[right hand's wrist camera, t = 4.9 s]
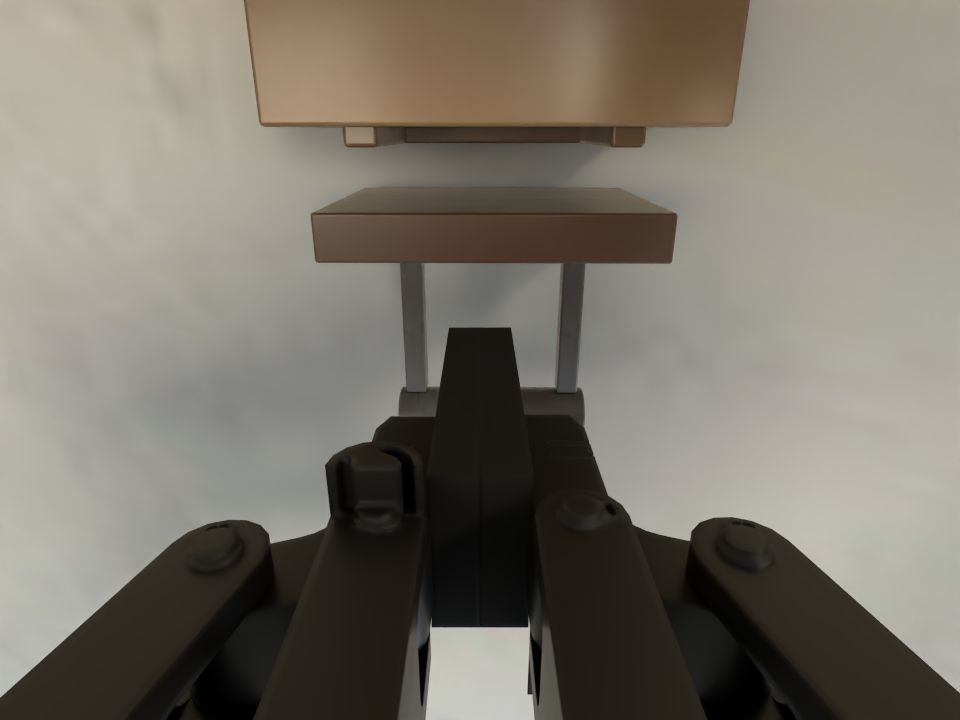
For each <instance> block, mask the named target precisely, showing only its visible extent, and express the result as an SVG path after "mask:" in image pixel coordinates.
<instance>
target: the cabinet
mask: <svg viewBox="0 0 960 720" xmlns="http://www.w3.org/2000/svg"><path fill="white" fill-rule="evenodd" d="M749 2H750V0H244V6H245V13H246V21H247V29H248V37H249V45H250V53H251V61H252V68H253V76H254V84H255V92H256V100H257V108H258V115H259V122H260V124H261V125H262V126H264V127H319V128H343V127H646V128H663V127H727V126H730V125H731V123H732V119H733V113H734V106H735V99H736V92H737V85H738V78H739V71H740V64H741V58H742V51H743V44H744V37H745V30H746V23H747V16H748V9H749Z"/></svg>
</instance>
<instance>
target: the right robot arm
mask: <svg viewBox="0 0 960 720" xmlns="http://www.w3.org/2000/svg"><path fill="white" fill-rule="evenodd" d="M325 469H326V478H327V487H328V495H329V504H330V513H331V517H330V520H329V522H328V525H327V528H325V529H323V530H320V531H318V532H316V533H314V534H310V535H307V536H303V537H300V538H296V539H291V540H286V541H281V542H277V543H272V544H270V539H269V534H268V533H267V532H266V531H265V530H264V528H263V527H262V526H261V525H258V524H255V523H252V522H250V521H247V520H226V521H220V522H215V523H211V524H207V525H205V526H202V527H200V528H197V529H195V530H192V531H190V532H188V533H187V534H185V535H184V536H182V537H181V538H179V539H178V540H176V541H175V542H173V543H172V544H171V545H170V546H169V547H168V548H166V549H165V550H164V551H163V552H162V553H161V554H160V555H159V556H158V557H156V558H155V559H154V560H153V561H152V562H151V563H150V564H149V565H148V566H146V567H145V568H144V569H143V570H142V571H141V572H140V573H139V574H138V575H136V576H135V577H134V578H133V579H132V580H131V581H130V582H129V583H128V584H126V585H125V586H124V587H123V588H122V589H121V590H120V591H119V592H118V593H116V594H115V595H114V596H113V597H112V598H111V599H110V600H109V601H107V602H106V603H105V604H104V605H103V606H102V607H101V608H100V609H99V610H97V611H96V612H95V613H94V614H93V615H92V616H91V617H90V618H89V619H87V620H86V621H85V622H84V623H83V624H82V625H81V626H80V627H79V628H77V629H76V630H75V631H74V632H73V633H72V634H71V635H70V636H69V637H67V638H66V639H65V640H64V641H63V642H62V643H61V644H60V645H59V646H57V647H56V648H55V649H54V650H53V651H52V652H51V653H50V654H49V655H47V656H46V657H45V658H44V659H43V660H42V661H41V662H40V663H39V664H37V665H36V666H35V667H34V668H33V669H32V670H31V671H30V672H28V673H27V674H26V675H25V676H24V677H23V678H22V679H21V680H20V681H18V682H17V683H16V684H15V685H14V686H13V687H12V688H11V689H10V690H8V691H7V692H6V693H5V694H4V695H3V696H2V697H1V698H0V720H425V717H426V706H427V695H428V684H429V672H430V661H431V647H430V624H431V619H432V627H528V619H529V621H530V647H529V671H528V694H533V705H534V716H535V720H960V693H959V692H958V691H957V690H955V689H954V688H953V687H952V686H951V685H950V684H949V683H948V682H946V681H945V680H944V679H943V678H942V677H941V676H940V675H939V674H938V673H936V672H935V671H934V670H933V669H932V668H931V667H930V666H929V665H927V664H926V663H925V662H924V661H923V660H922V659H921V658H920V657H918V656H917V655H916V654H915V653H914V652H913V651H912V650H911V649H909V648H908V647H907V646H906V645H905V644H904V643H903V642H902V641H901V640H899V639H898V638H897V637H896V636H895V635H894V634H893V633H892V632H890V631H889V630H888V629H887V628H886V627H885V626H884V625H883V624H881V623H880V622H879V621H878V620H877V619H876V618H875V617H874V616H872V615H871V614H870V613H869V612H868V611H867V610H866V609H865V608H863V607H862V606H861V605H860V604H859V603H858V602H857V601H856V600H855V599H853V598H852V597H851V596H850V595H849V594H848V593H847V592H846V591H844V590H843V589H842V588H841V587H840V586H839V585H838V584H837V583H835V582H834V581H833V580H832V579H831V578H830V577H829V576H828V575H826V574H825V573H824V572H823V571H822V570H821V569H820V568H819V567H817V566H816V565H815V564H814V563H813V562H812V561H811V560H810V559H809V558H807V557H806V556H805V555H804V554H803V553H802V552H801V551H800V550H798V549H797V548H796V547H795V546H794V545H793V544H792V543H791V542H789V541H788V540H787V539H785V538H784V537H782V536H781V535H779V534H778V533H777V532H775V531H774V530H772V529H770V528H767V527H765V526H763V525H760V524H758V523H755V522H753V521H748V520H744V519H738V518H733V517H726V518H712V519H709V520H706V521H703V522H700V523H699V524H698V525H697V526H696V527H695V528H694V529H693V531H692V532H691V539H690V541H686V540H681V539H676V538H672V537H667V536H662V535H658V534H655V533H651V532H648V531H645V530H643V529H641V528H639V527H636V526H634V525H633V524H632V521H631V519H630V516H629V514H628V513H627V512H626V510H625V509H624V507H623V506H622V505H621V504H620V503H618V502H617V501H615V500H614V499H612V498H611V497H609V496H608V494H607V491H606V489H605V486H604V483H603V480H602V477H601V474H600V471H599V469H598V466H597V463H596V460H595V457H593V451H592V449H591V446H590V444H589V440H588V437H587V434H586V431H585V429H584V427H583V426H582V425H581V424H580V423H579V422H577V421H576V420H575V419H574V418H573V417H571V416H570V415H524V409H523V402H522V396H521V389H520V383H519V377H518V370H517V364H516V357H515V351H514V345H513V338H512V332H511V328H449V332H448V338H447V345H446V351H445V357H444V364H443V370H442V377H441V383H440V389H439V396H438V402H437V409H436V415H435V417H390V418H389V419H387V420H386V421H385V422H384V423H383V424H382V425H380V426H379V427H378V428H377V429H376V431H375V434H374V437H373V440H372V442H366V443H361V444H358V445H354V446H351V447H347V448H345V449H344V450H342V451H340V452H338V453H337V454H335V455H333V456H332V458H331V459H330V460H329V461H328V462H327V464H326V465H325Z"/></svg>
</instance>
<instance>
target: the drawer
mask: <svg viewBox="0 0 960 720" xmlns="http://www.w3.org/2000/svg"><path fill="white" fill-rule="evenodd" d="M645 136H646V127H343V139H344V144H345V146H346V147H379V146H386V145H392V144H399V143H586V144H594V145H601V146H608V147H642V146H644V144H645ZM311 223H312V233H313V242H314V252H315V260H316V262H318V263H400V272H401V292H402V312H403V331H404V351H405V371H406V387H402V389H401V392H400V398H399V417H435V415H436V409H437V402H438V396H439V389H440V387H428V360H427V331H426V303H425V275H424V263H561V273H560V292H559V312H558V332H557V351H556V371H555V387H520V389H521V396H522V402H523V409H524V415H570V416H571V417H573V418H574V419H575V420H576V421H577V422H579V423H580V424H581V425H582V426H583V427H584V423H585V405H584V396H583V392H582V389H581V388H578V387H577V383H578V368H579V352H580V337H581V322H582V307H583V292H584V277H585V263H630V264H669V263H671V262H672V258H673V250H674V241H675V233H676V225H677V214H675V213H673V212H671V211H669V210H667V209H664V208H662V207H660V206H658V205H655V204H653V203H651V202H649V201H646V200H644V199H642V198H640V197H637V196H635V195H633V194H631V193H628V192H626V191H624V190H622V189H620V188H365V189H362V190H360V191H358V192H356V193H354V194H352V195H350V196H348V197H345V198H343V199H341V200H339V201H337V202H335V203H333V204H330V205H328V206H326V207H324V208H322V209H320V210H318V211H316V212H313V213H311Z"/></svg>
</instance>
